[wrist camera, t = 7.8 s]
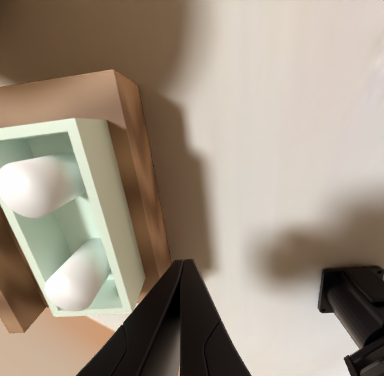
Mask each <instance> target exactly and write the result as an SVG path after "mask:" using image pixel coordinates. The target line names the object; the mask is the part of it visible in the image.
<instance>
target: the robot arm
mask: <svg viewBox="0 0 384 376" xmlns="http://www.w3.org/2000/svg"><path fill="white" fill-rule="evenodd" d="M383 275H384V270H383V269H382V268H381V267H379V266H370V267H353V268H336V269H325V270H323V271H322V276H321V284H320V293H319V301H318V309H319V311H320V312H321V313H334V314H335V315H336V316H337V318H338V319H339V321H340V322H341V323H342V325H343V326H344V328H345V329H346V330H347V332H348V333H349V335H350V336H351V338H352V339H353V340H354V342H355V343H356V345H357V346H358V347H359V350H358V351H356V352H355V353H353V354H352V355H350V356H349V355H347V356H346V357H344V360H345V363H346V365H347V367H348V370H349V373H350V375H351V376H384V281H383V280H382V279H383ZM179 364H180V376H251V374H250V372H249V371H248V369H247V367H246V366H245V364H244V362H243V361H242V359H241V357H240V356H239V354H238V352H237V350H236V349H235V347H234V345H233V343H232V341H231V339H230V337H229V335H228V333H227V331H226V329H225V326H224V324H223V322H222V321H221V318H220V316H219V314H218V311H217V309H216V307H215V305H214V303H213V300H212V298H211V296H210V294H209V292H208V290H207V287H206V285H205V283H204V281H203V279H202V276H201V274H200V272H199V270H198V268H197V266H196V263H195V261H194V259H185V260H175V261H174V262H173V263H172V264H171V266H170V267H169V268H168V269H167V270H166V272H165V273H164V274H163V275H162V276H161V278H160V279H159V280H158V281H157V282H156V284H155V285H154V286H153V287H152V289H151V290H150V291H149V292H148V293H147V295H146V296H145V297H144V298H143V299H142V301H141V302H140V303H139V304H138V305H137V307H136V308H135V309H134V310H133V312H132V313H131V314H130V315H129V316H128V318H127V319H126V320H125V321H124V322H123V325H121V326H120V327H119V328H118V330H117V331H116V332H115V333H114V335H113V336H112V337H111V338H110V339H109V340H108V341H107V343H106V344H105V345H104V346H103V347H102V349H100V351H99V352H98V353H97V354H96V355H95V356H94V357H93V358H92V359H91V360H90V361H89V362H88V363H87V365H86V366H85V367H84V368H83V369H82V370H81V371H80V372H79V373H78V374H77V375H76V376H178V370H179Z"/></svg>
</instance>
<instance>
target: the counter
mask: <svg viewBox="0 0 384 376" xmlns="http://www.w3.org/2000/svg"><path fill="white" fill-rule="evenodd" d="M71 118H83V119H100V120H107V123H108V128H109V132H110V136H111V140H112V144H113V148H114V152H115V156H116V160H117V164H118V168H119V172H120V176H121V180H122V184H123V188H124V192H125V196H126V201H127V205H128V209H129V213H130V217H131V221H132V225H133V229H134V233H135V237H136V241H137V245H138V249H139V253H140V257H141V261H142V265H143V269H144V274H145V281H144V283H143V286H142V289H141V292H140V294H139V297H138V300H137V303H140V302H141V301H142V299H143V298H144V297H145V296H146V295H147V293H148V292H149V291H150V290H151V289H152V287H153V286H154V285H155V284H156V282H157V281H158V280H159V279H160V278H161V276H162V275H163V274H164V273H165V272H166V270H167V269H168V268H169V267H170V266H171V258H170V253H169V248H168V242H167V237H166V232H165V226H164V221H163V216H162V210H161V205H160V200H159V194H158V189H157V183H156V178H155V173H154V167H153V162H152V157H151V151H150V146H149V141H148V135H147V130H146V125H145V119H144V114H143V109H142V103H141V98H140V93H139V87H138V85H137V84H136V83H134V82H133V81H131V80H129V79H128V78H126V77H125V76H123V75H122V74H120V73H118V72H117V71H115V70H114V69H111V70H105V71H99V72H92V73H86V74H80V75H73V76H67V77H60V78H54V79H48V80H41V81H35V82H29V83H22V84H16V85H10V86H3V87H0V128H5V127H13V126H20V125H27V124H34V123H42V122H49V121H56V120H64V119H71ZM46 307H49V305H48V303H47V301H46V299H45V297H44V295H43V293H42V291H41V289H40V287H39V284H38V282H37V280H36V278H35V276H34V274H33V272H32V270H31V268H30V266H29V263H28V261H27V259H26V257H25V255H24V253H23V251H22V249H21V247H20V245H19V243H18V240H17V238H16V236H15V234H14V232H13V230H12V228H11V226H10V224H9V222H8V220H7V217H6V215H5V213H4V211H3V209H2V207H1V205H0V318H1V320H2V322H3V323H4V325H5V327H6V328H7V330H8V332H9V333H25V331H26V330H27V329H28V328H29V327H30V325H31V324H32V323H33V322H34V321H35V320H36V319H37V317H38V316H39V315H40V314H41V313H42V312H43V310H44V309H45V308H46Z"/></svg>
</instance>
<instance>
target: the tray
mask: <svg viewBox="0 0 384 376" xmlns="http://www.w3.org/2000/svg"><path fill="white" fill-rule="evenodd" d="M0 205H1V207H2V209H3V211H4V213H5V215H6V217H7V220H8V222H9V224H10V226H11V228H12V230H13V232H14V234H15V236H16V238H17V240H18V243H19V245H20V247H21V249H22V251H23V253H24V255H25V257H26V259H27V261H28V263H29V266H30V268H31V270H32V272H33V274H34V276H35V278H36V280H37V282H38V284H39V287H40V289H41V291H42V293H43V295H44V297H45V299H46V301H47V303H48V305H49V307H50V309H51V311H52V314H53V316H54V317H63V316H86V315H110V314H131V313H132V312H133V310H134V308H135V305H136V303H137V300H138V297H139V294H140V292H141V289H142V286H143V283H144V281H145V274H144V269H143V265H142V261H141V257H140V253H139V249H138V245H137V241H136V237H135V233H134V229H133V225H132V221H131V217H130V213H129V209H128V205H127V201H126V196H125V192H124V188H123V184H122V180H121V176H120V172H119V168H118V164H117V160H116V156H115V152H114V148H113V144H112V140H111V136H110V132H109V128H108V123H107V120H100V119H83V118H71V119H64V120H56V121H49V122H42V123H34V124H27V125H20V126H13V127H5V128H0Z"/></svg>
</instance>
